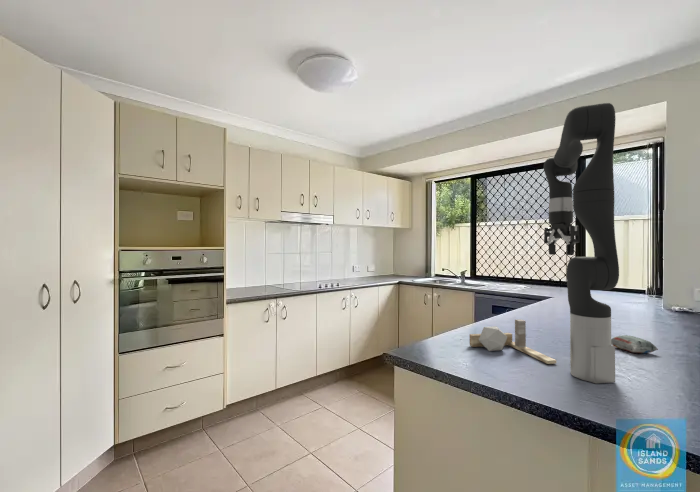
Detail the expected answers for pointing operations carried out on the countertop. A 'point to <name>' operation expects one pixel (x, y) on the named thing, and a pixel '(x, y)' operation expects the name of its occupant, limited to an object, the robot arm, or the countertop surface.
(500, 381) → the countertop surface
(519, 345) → the l-shaped corner bracket
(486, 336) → the die
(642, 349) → the packaged food
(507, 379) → the countertop surface
